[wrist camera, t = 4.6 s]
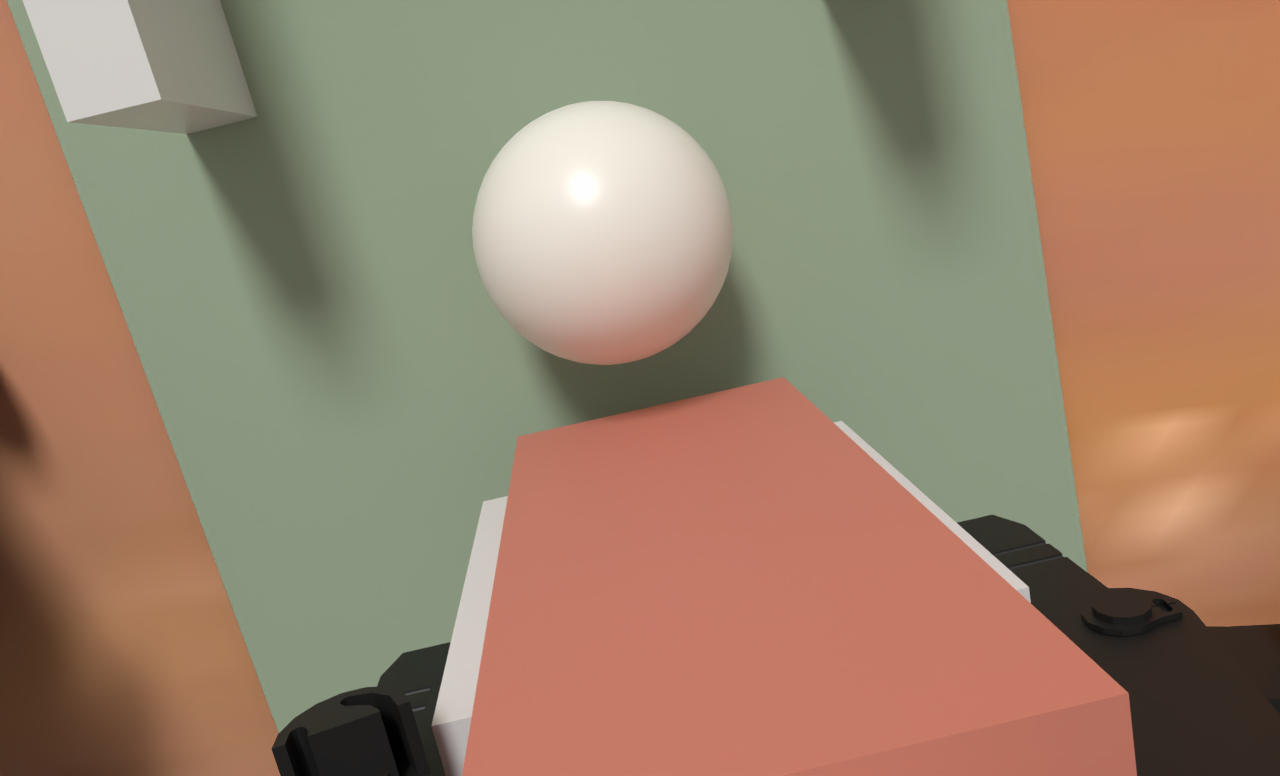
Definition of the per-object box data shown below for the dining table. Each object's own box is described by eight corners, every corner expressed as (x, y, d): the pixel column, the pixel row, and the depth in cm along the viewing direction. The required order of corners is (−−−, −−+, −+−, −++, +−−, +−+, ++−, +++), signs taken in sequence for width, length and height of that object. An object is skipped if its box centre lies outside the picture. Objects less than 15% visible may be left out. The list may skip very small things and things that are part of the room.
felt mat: (461, 1215, 22) (461, 1224, 21) (-201, -577, 14) (-211, -588, 14) (1146, 1025, 22) (1152, 1033, 22) (885, -816, 14) (890, -830, 14)
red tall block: (577, 678, 17) (615, 1810, 5) (517, 436, 16) (398, 1168, 4) (827, 620, 17) (1407, 1594, 5) (783, 377, 16) (1384, 927, 4)
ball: (510, 431, 14) (440, 148, 12) (500, 341, 17) (445, 116, 16) (780, 370, 14) (745, 87, 13) (715, 295, 18) (681, 69, 16)
